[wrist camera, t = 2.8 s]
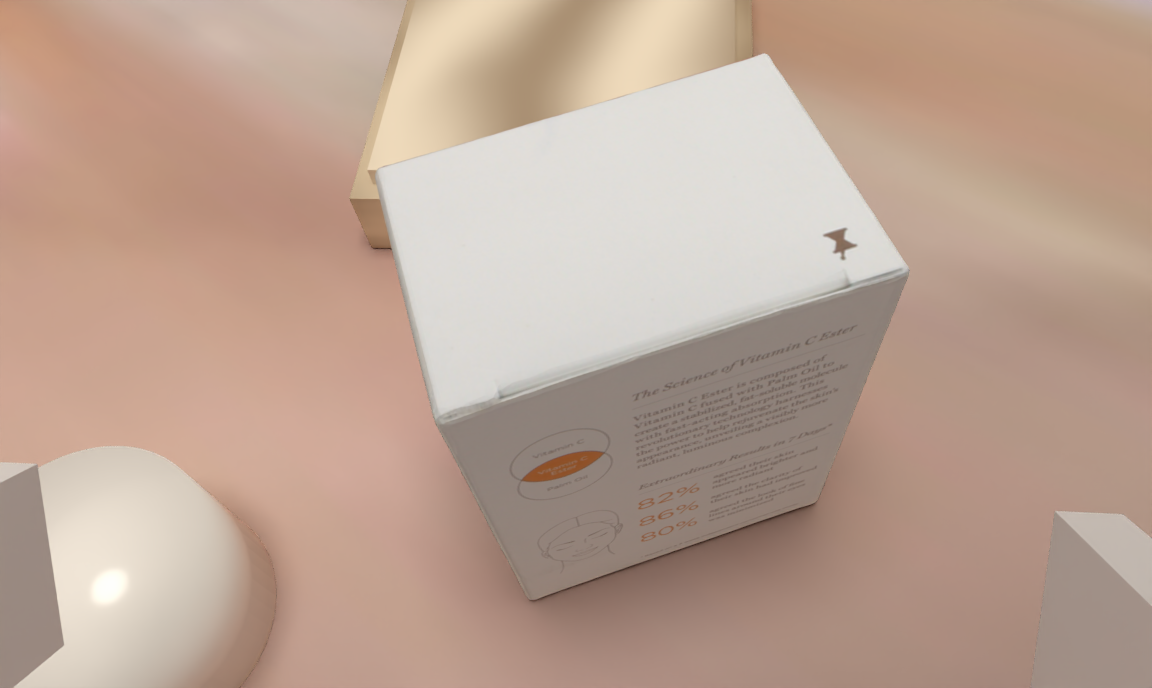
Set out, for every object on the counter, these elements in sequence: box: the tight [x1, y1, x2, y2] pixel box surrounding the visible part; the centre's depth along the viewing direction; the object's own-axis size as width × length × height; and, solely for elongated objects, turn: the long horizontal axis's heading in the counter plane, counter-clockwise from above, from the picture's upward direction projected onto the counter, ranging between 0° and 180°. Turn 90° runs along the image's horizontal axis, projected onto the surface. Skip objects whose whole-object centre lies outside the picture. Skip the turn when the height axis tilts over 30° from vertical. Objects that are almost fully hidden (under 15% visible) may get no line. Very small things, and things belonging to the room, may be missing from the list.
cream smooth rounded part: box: [13, 446, 277, 688], centre depth 21 cm, size 6×6×4 cm
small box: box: [375, 53, 910, 600], centre depth 19 cm, size 8×6×10 cm
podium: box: [349, 0, 753, 248], centre depth 29 cm, size 12×12×3 cm
